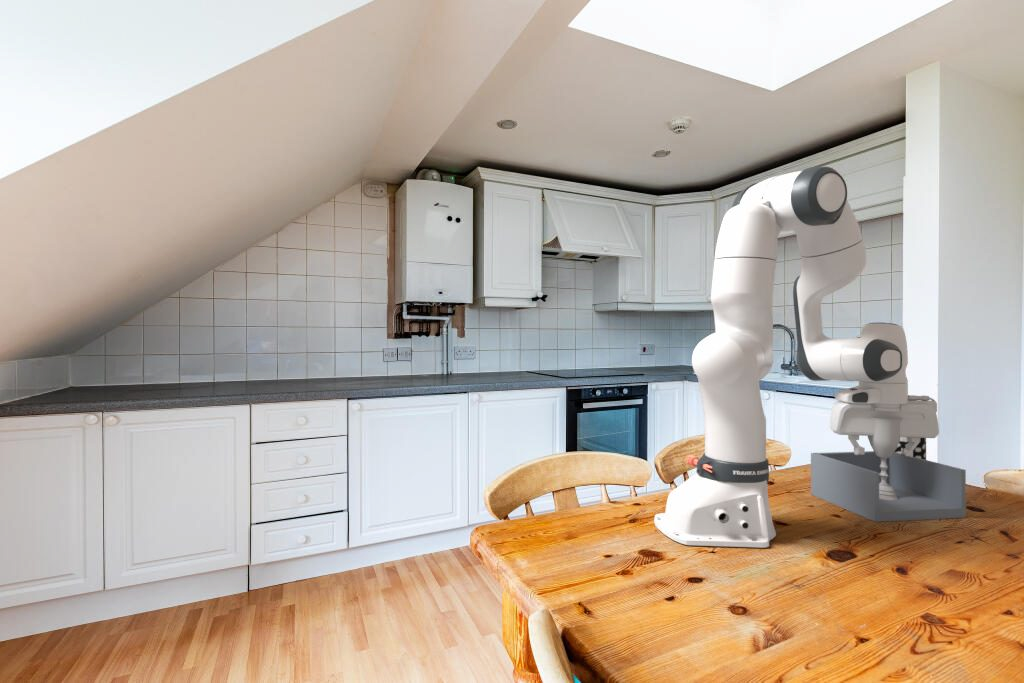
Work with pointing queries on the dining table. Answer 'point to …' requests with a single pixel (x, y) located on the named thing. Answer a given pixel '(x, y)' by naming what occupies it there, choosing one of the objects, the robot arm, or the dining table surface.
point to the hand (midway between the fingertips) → (882, 455)
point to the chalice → (885, 450)
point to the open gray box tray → (913, 480)
